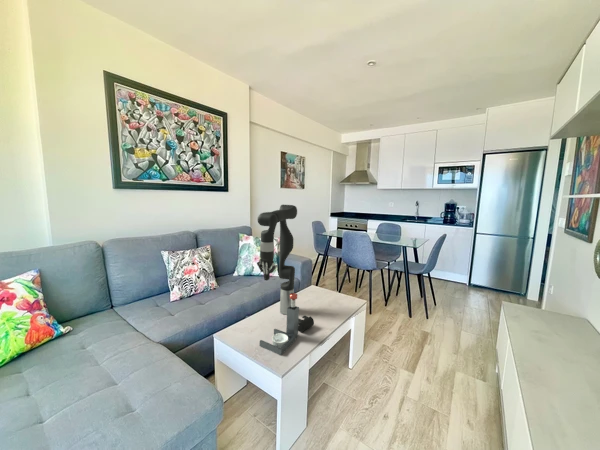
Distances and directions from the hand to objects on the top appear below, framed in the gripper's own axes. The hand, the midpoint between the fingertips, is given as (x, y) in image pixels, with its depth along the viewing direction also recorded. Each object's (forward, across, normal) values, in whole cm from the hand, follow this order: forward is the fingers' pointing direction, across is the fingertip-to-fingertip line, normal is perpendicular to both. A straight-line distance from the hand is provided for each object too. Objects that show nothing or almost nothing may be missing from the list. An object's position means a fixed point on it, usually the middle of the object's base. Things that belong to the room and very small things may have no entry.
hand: (266, 279), depth 135 cm
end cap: (+35, -14, -20) cm, 43 cm away
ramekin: (+35, -11, +1) cm, 37 cm away
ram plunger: (+20, -12, -9) cm, 25 cm away
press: (+35, -9, -2) cm, 36 cm away
